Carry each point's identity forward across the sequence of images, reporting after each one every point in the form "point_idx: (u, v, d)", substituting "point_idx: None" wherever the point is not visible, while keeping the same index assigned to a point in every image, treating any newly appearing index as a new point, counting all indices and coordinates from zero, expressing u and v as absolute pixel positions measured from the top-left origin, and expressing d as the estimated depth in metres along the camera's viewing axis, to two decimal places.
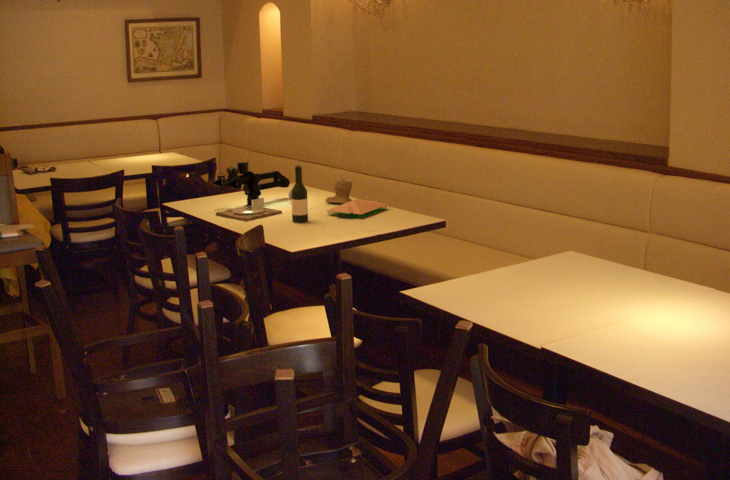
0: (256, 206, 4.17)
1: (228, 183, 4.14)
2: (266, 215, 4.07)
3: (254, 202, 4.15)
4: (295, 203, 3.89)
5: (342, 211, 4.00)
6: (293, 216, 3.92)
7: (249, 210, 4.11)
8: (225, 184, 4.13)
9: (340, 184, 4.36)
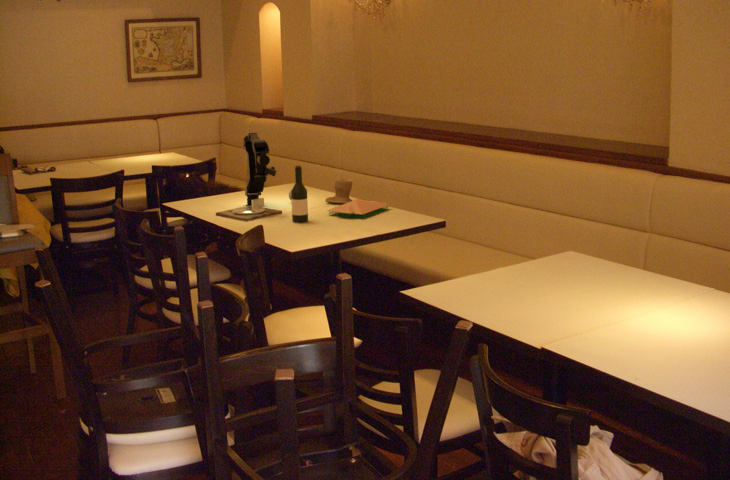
0: (256, 206, 4.17)
1: None
2: (266, 215, 4.07)
3: (254, 202, 4.15)
4: (295, 203, 3.89)
5: (343, 211, 4.00)
6: (293, 216, 3.92)
7: (249, 210, 4.11)
8: None
9: (340, 184, 4.36)
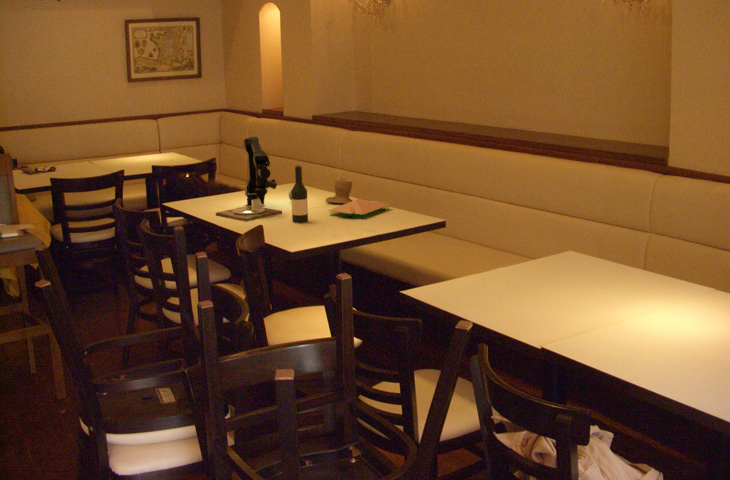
0: (256, 206, 4.17)
1: None
2: (266, 215, 4.07)
3: (254, 202, 4.15)
4: (295, 203, 3.89)
5: (344, 211, 4.00)
6: (293, 216, 3.92)
7: (249, 210, 4.11)
8: None
9: (340, 184, 4.36)
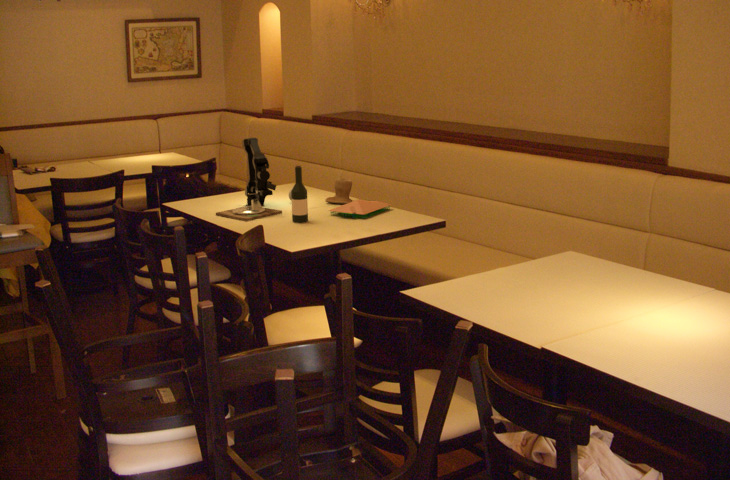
0: (256, 206, 4.17)
1: None
2: (266, 215, 4.07)
3: (254, 202, 4.15)
4: (295, 203, 3.89)
5: (344, 211, 4.00)
6: (293, 216, 3.92)
7: (249, 210, 4.11)
8: None
9: (340, 184, 4.36)
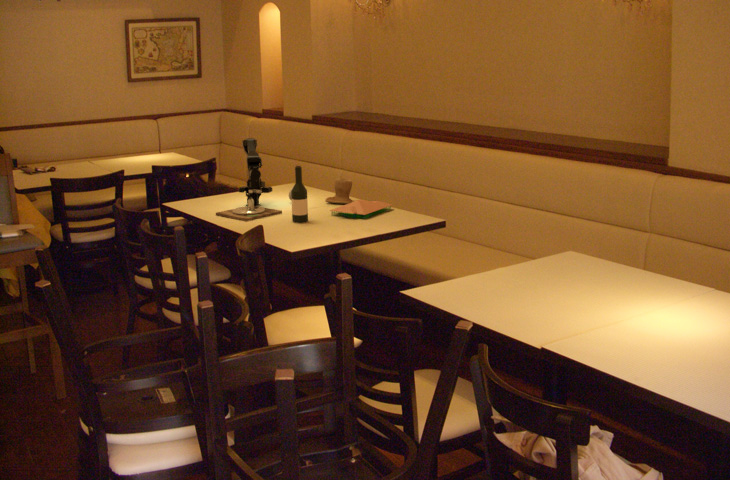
0: (251, 205, 4.18)
1: None
2: (266, 215, 4.07)
3: (251, 202, 4.16)
4: (295, 203, 3.89)
5: (345, 211, 4.00)
6: (293, 216, 3.92)
7: (251, 210, 4.12)
8: None
9: (340, 184, 4.36)
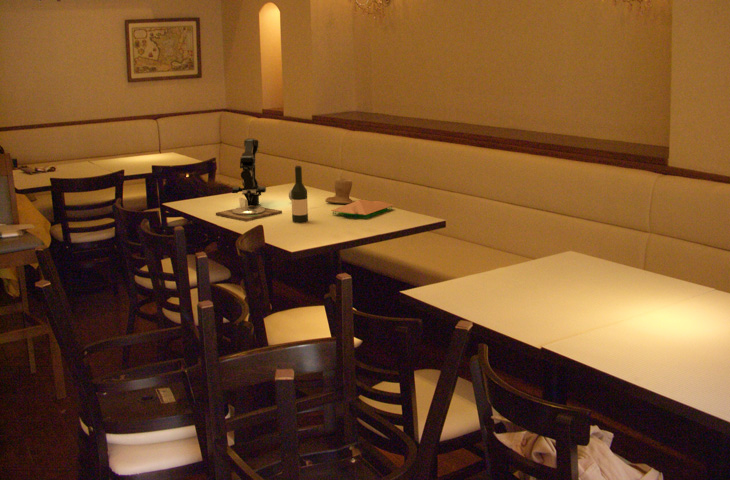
0: None
1: (247, 198, 4.21)
2: (266, 215, 4.07)
3: None
4: (295, 203, 3.89)
5: (347, 211, 4.00)
6: (293, 216, 3.92)
7: (253, 209, 4.14)
8: (248, 202, 4.21)
9: (340, 184, 4.36)
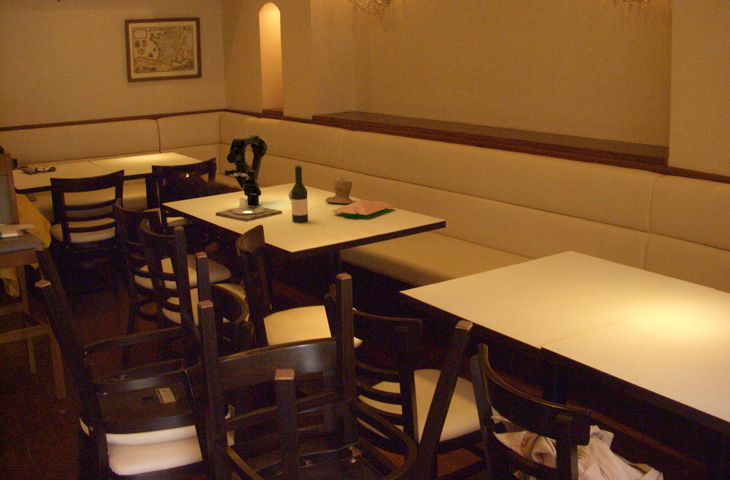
0: None
1: None
2: (266, 215, 4.07)
3: None
4: (295, 203, 3.89)
5: (348, 211, 3.99)
6: (293, 216, 3.92)
7: (253, 209, 4.14)
8: None
9: (340, 184, 4.36)
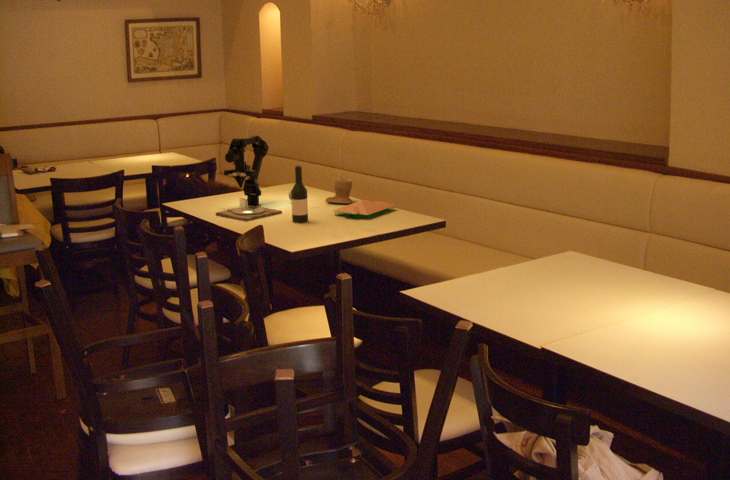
0: None
1: None
2: (266, 215, 4.07)
3: None
4: (295, 203, 3.89)
5: (348, 211, 3.99)
6: (293, 216, 3.92)
7: (253, 209, 4.14)
8: None
9: (340, 184, 4.36)
